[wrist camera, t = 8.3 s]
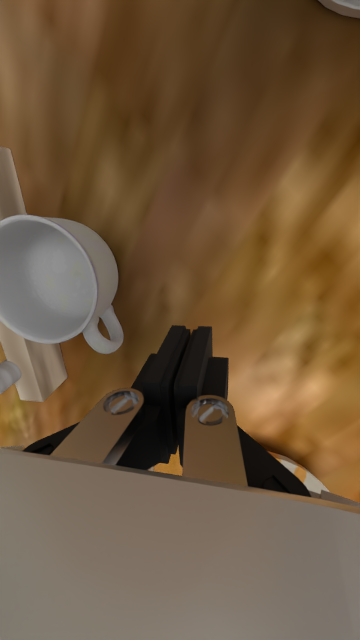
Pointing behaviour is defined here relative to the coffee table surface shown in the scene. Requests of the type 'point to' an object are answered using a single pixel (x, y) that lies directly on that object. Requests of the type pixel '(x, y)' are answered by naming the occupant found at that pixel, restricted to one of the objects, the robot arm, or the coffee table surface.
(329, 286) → the coffee table surface
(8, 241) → the teacup
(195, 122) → the coffee table surface
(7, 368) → the bar
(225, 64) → the coffee table surface
